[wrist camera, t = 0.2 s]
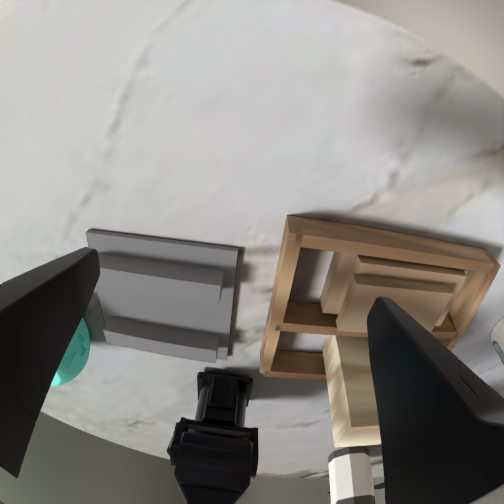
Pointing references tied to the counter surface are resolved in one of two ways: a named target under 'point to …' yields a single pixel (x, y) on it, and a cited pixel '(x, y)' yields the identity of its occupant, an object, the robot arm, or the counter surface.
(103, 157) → the counter surface
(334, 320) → the rack
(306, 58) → the counter surface
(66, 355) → the decorative dice
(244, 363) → the counter surface
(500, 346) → the spray can
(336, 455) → the wine bottle
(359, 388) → the pale wooden block
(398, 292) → the offcut stack
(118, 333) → the holder
